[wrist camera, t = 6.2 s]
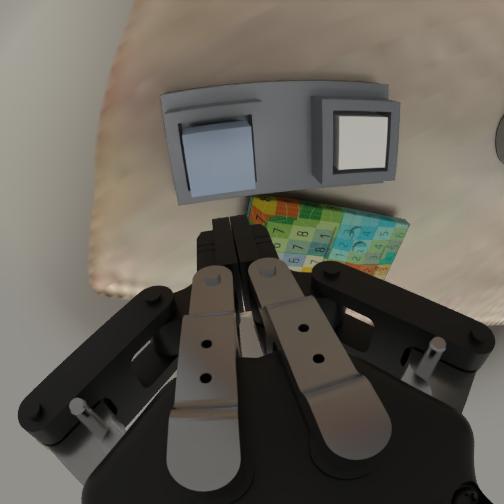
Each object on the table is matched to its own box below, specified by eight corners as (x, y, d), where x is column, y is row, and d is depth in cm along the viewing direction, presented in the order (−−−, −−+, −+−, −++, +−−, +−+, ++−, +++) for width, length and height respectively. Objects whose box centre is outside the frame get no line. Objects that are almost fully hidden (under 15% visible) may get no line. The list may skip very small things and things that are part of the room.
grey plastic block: (374, 82, 28) (404, 88, 23) (370, 173, 34) (396, 193, 29) (164, 93, 26) (154, 97, 21) (180, 194, 32) (176, 219, 27)
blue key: (245, 120, 24) (250, 126, 21) (250, 176, 26) (255, 188, 24) (184, 128, 23) (181, 135, 21) (192, 184, 26) (191, 197, 23)
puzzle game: (377, 301, 40) (233, 295, 35) (364, 281, 44) (229, 271, 39) (413, 227, 34) (254, 201, 29) (395, 210, 38) (247, 183, 33)
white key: (372, 112, 27) (387, 117, 24) (370, 158, 29) (384, 167, 27) (326, 111, 26) (339, 116, 24) (327, 160, 29) (338, 169, 27)
